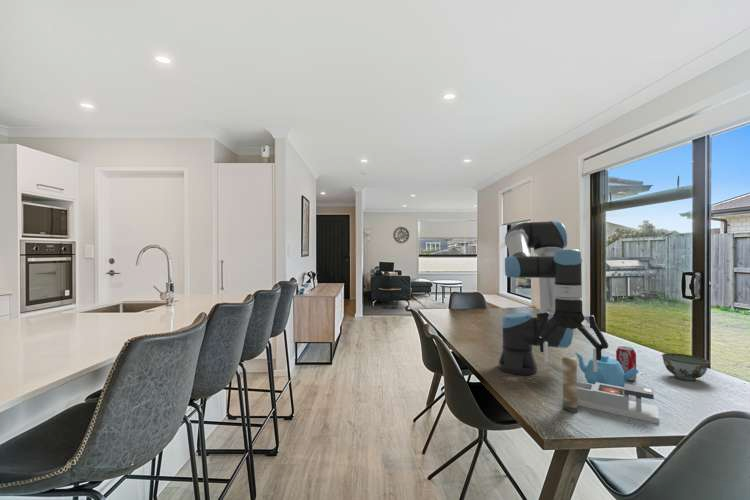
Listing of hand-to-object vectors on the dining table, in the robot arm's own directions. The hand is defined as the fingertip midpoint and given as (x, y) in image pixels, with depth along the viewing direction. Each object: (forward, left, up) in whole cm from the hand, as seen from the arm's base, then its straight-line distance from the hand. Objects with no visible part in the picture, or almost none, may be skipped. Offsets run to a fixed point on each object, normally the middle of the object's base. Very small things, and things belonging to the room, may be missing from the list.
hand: (569, 366), depth 107 cm
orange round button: (+10, +10, -10) cm, 17 cm away
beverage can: (+13, +43, -14) cm, 47 cm away
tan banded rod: (0, 0, -14) cm, 14 cm away
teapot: (+7, +28, -14) cm, 32 cm away
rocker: (+17, +10, -7) cm, 21 cm away
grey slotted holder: (+10, +10, -14) cm, 20 cm away
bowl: (+31, +57, -14) cm, 67 cm away
